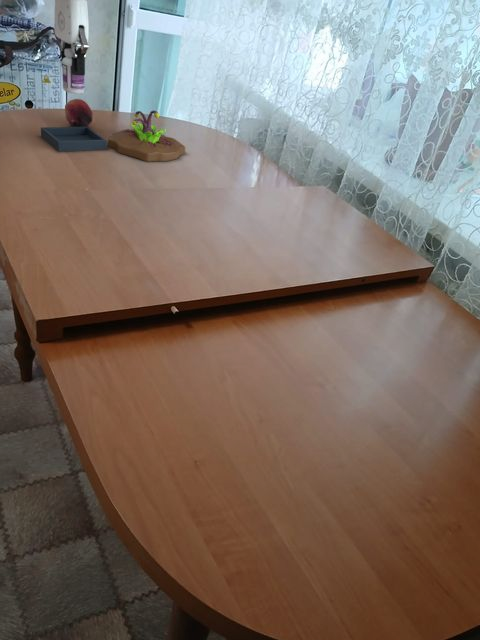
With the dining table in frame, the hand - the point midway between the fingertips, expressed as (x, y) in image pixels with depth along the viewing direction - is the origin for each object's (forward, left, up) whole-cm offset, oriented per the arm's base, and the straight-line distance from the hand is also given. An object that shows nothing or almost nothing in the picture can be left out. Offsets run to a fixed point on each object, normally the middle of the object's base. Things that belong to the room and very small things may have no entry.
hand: (73, 70), depth 140 cm
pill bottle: (0, 0, -5) cm, 5 cm away
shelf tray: (0, +1, -19) cm, 19 cm away
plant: (+19, -6, -19) cm, 28 cm away
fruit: (+7, +13, -19) cm, 24 cm away
